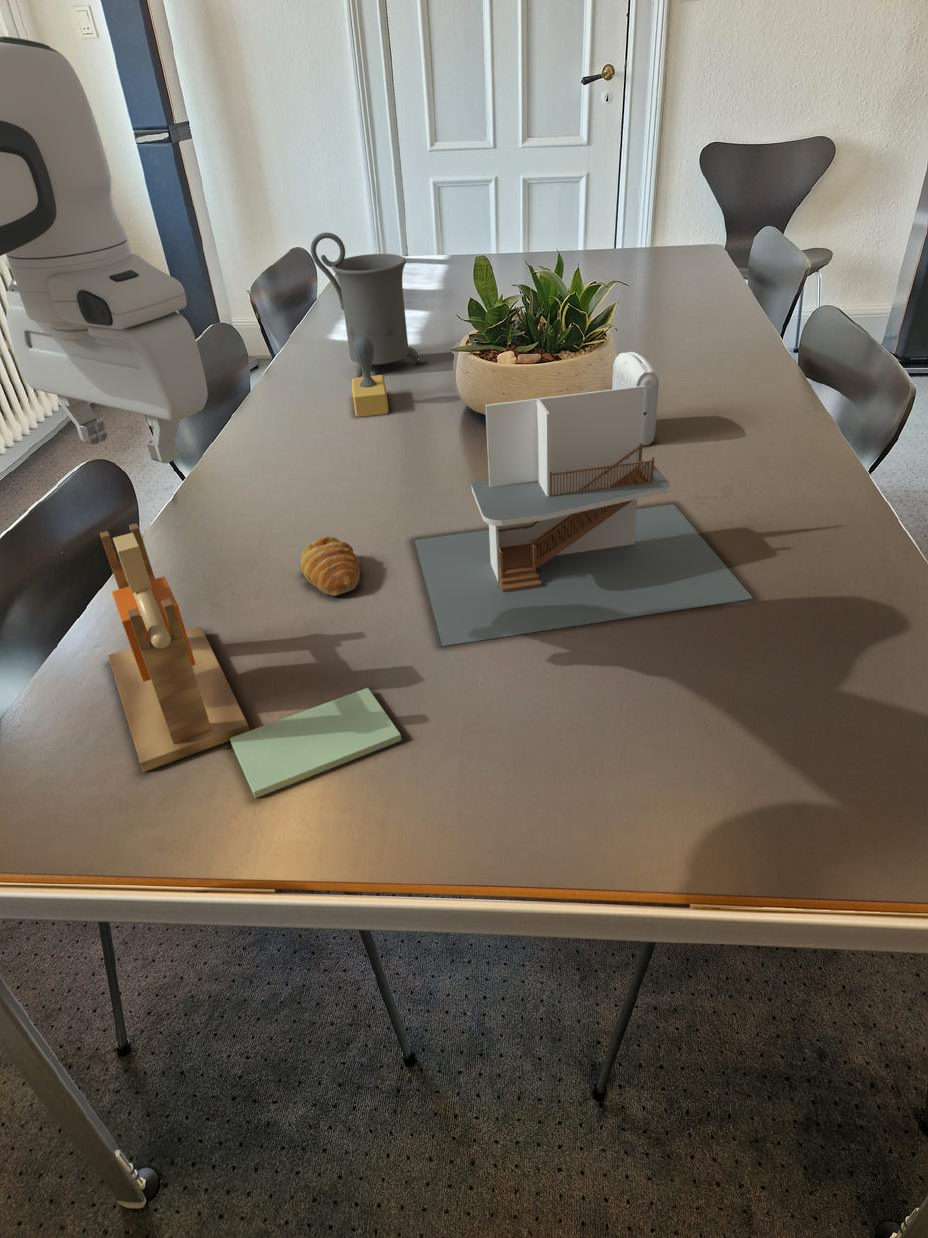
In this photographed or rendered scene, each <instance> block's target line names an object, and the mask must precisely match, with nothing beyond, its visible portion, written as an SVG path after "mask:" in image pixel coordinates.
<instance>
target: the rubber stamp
mask: <svg viewBox="0 0 928 1238" xmlns="http://www.w3.org/2000/svg"><path fill="white" fill-rule="evenodd" d="M353 350H354V355H355V357H356V359H357V361H358V363H359V365H360V367H361V369H362V371H363V374H362V376H361V377H356V376H355V377H356V378H355V377H352V379H351V391H352V401H353V407H354V415H355V417H357V418H363V417H370V416H380V415H381V416H382V415H388V413H389V400H388V393H387V387H386V381H385V376H384V375H382V374H376V375H371V369H372V361H373V356H374V346H373V344H372V342H371V340H370V339H368V338H367V337H364V336H363V337H359V338H358V339H357V340H356V341H355V343H354V346H353Z"/></svg>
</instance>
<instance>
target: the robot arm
mask: <svg viewBox="0 0 928 1238" xmlns="http://www.w3.org/2000/svg"><path fill="white" fill-rule="evenodd" d="M114 206H115V205H114V203H113V197H112V174H111V171H110V167H109V162H108V159H107V155H106V151H105V149H104V145H103V141H102V137H101V134H100V131H99V128H98V124H97V122H96V118H95V115H94V113H93V110H92V107H91V104H90V102H89V98H88V96H87V93H86V91H85V89H84V87H83V84H82V83H81V81H80V78H79V76H78V74H77V72H76V71H75V69H74V67H73V66H72V63H70V61H69V60H68V59H67V58H66V56H65V55H64V54H63V53H60V52H59V51H58V50H56V49H54V48H52V47H51V46H49V45H48V44H45V43H42V42H38V41H36V40H35V41H33V40H30V39H25V38H19V37H11V36H4V35H2V36H0V257H2V256H3V255H6V259H7V262H8V265H9V267H10V270H11V273H12V276H13V278H12V279H11V280H10V284H9V286H8V288H7V291H6V299H7V302H8V303H7V304H8V305H9V306H8V307H7V309H6V313H5V314H6V316H5V317H6V324H7V331H8V334H9V338H10V341H11V345H12V350H13V352H14V356H15V359H16V363H17V365H18V369H19V372H20V375H21V377H22V378H23V380H24V381H25V382H26V384H27V385H28V386H29V387H30V388H31V389H32V390H35V391H38V392H43V393H48V394H52V395H56V396H57V399H58V401H59V404H60V406H61V408H62V409H63V411H64V412H65V413H66V414H67V416H68V417H69V418H70V420H71V421H72V423H73V424H74V425H75V427H76V429H77V433H78V436H79V439H80V441H82V442H83V443H86V444H91V445H98V444H99V443H102V442H105V441H106V440H107V438H108V434H107V431H106V429H105V428H106V426H105V424H104V420H103V419H99V418H97V416H96V414H95V413H94V411H93V409H92V407H91V405H90V403H91V404H95V405H100V406H105V407H108V408H113V409H117V410H121V411H125V412H129V413H134V414H139V415H143V416H145V418H146V421H147V425H148V426H149V427H152V428H153V432H152V439H151V440H150V441H147V442H146V445H147V449H148V451H149V453H150V454H149V456H150V459H151V460H152V461H155V462H159V463H162V464H170V463H171V462H173V461H175V460H177V459H178V457H179V450H178V446H177V442H176V437H177V433H178V429H179V424H180V421H181V420H183V419H186V418H188V417H191V416H194V415H195V414H197V413H200V412H201V411H202V410H204V408H205V406H206V403H207V400H208V397H209V391H208V385H207V384H208V383H207V380H206V376H205V370H204V366H203V362H202V358H201V353H200V351H199V350H200V349H199V347H198V343H197V340H196V337H195V333H194V331H193V329H192V327H191V325H190V323H189V321H188V320H187V319H186V318H185V317H184V316H183V315H182V314H180V312H179V311H181V310H184V309H186V307H187V303H188V302H187V295H186V291H185V288H184V286H183V284H182V282H181V281H180V280H178V279H176V278H175V277H173V276H171V275H169V274H167V273H166V272H164V271H162V270H160V268H159V269H158V268H157V267H155V266H153V265H152V264H150V263H149V262H148V261H146V260H145V259H143V258H142V257H141V256H140V255H138V254H136V253H132V249H131V247H130V242H129V239H128V235H127V231H126V230H125V228H124V226H123V224H122V222H121V221H120V218H119V217H118V215H117V213H116V210H115V207H114Z"/></svg>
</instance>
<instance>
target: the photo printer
mask: <svg viewBox="0 0 928 1238" xmlns="http://www.w3.org/2000/svg"><path fill="white" fill-rule="evenodd" d="M650 362H651V361H649V360H648V359H647V358H646V357H644V356H643V355H642V354H640V353H637V352H635V351H627V352H621V353H619V354H618V355H617V356H616V357H615V358H614V361H613V365H612V384H611V390H612V389H620V388H628V387H636V386H644V401H643V417H642V433H641V444H643V446H642V447H644V446H645V447H646V446H649V445H651V444H652V442H654V441H655V435H656V425H657V415H658V413H657V412H658V402H659V388H660V379H659V375H658V373H657V370H656V369H655V368H654V366H653V365H652V363H650Z"/></svg>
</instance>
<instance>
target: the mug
mask: <svg viewBox="0 0 928 1238" xmlns="http://www.w3.org/2000/svg"><path fill="white" fill-rule="evenodd" d="M325 239H330V240H333V242H335V243H336V244H337V246H338V248H339V256H338V258H337V260H334V261H331V260H329V259H328V258H327V255H325V254H321V255H320V259H319V256H318V254H317V247H318V244H319V243H320V242H321V241H322V240H325ZM310 254H311V257H312V260H313V261H314V263H315V265H316V266H317V267H318V268H319V269H320V270H321V271H322V272H323V274H324V275H325V276H326V277H327V278H328V279H329V281H330V283H331V284H332V285H333V287H334V289H335V292H336V294H337V296H338V300H339V304H340V308H341V310H342V311H343V312H344V313H343V314H344V321H345V328H346V336H347V343H348V351H349V357H350V358H349V359H350V360H351V361H352V362H353V363H356V368H355V369H356V375H355V377H354V378H356V377H363V371H362V369H361V367H360V365H359V363H358V361H357V359H356V357H355V355H354V350H353V346H354V343H355V341H356V340H357V339H358V338H359V337H363V336H364V337H367V338H368V339H370V340H371V342H372V344H373V346H374V356H373V361H372V365H373V366H374V365H375V366H377V365H385V364H386V365H387V364H391V363H392V364H393V363H395V362H398V361H401V360H403V359H405V358H406V357H407V358H411V359H412V360H414V362H416V363H417V364H420V365H421V364H424V360H423V359H422V358H420V355H419V353H418V351H417V350H416V349H415V348H413V347H411V346H409V342H408V340H409V339H408V330H407V320H406V310H405V308H406V307H405V299H404V289H403V288H404V287H403V275H404V268H405V266H406V263H407V259H406V258H405V257H404V256H401V255H398V254H393V253H392V254H391V253H369V254H359V255H354V256H350V257H346V248H345V244H344V242H343V241H342V239H341V238H340V237H339V236H338V235H336V234H335V233H332V232H321V233H319V234H317V235H316V236H315V237H314V238H313V240H312V241H311V244H310ZM327 267H329V268H331V270H332V271H333V272H334V274H335V275H336V277H337V278H335V276H334V275H333V273H332V272H331V271H330V270H329V269H328V268H327ZM336 279H337V280H338V281H337V280H336ZM418 359H419V360H418ZM372 365H371V366H372Z"/></svg>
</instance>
